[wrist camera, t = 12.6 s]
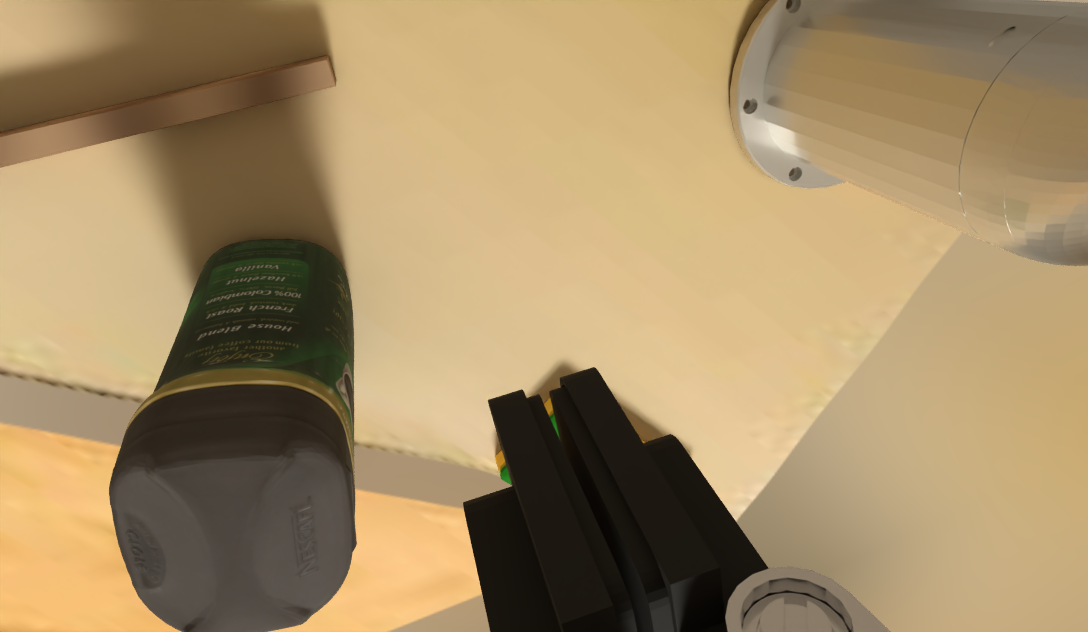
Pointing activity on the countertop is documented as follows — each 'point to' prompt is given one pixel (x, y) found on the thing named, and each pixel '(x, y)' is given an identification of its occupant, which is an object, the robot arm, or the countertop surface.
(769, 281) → the countertop surface
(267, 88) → the brown wooden open frame
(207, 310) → the coffee jar
